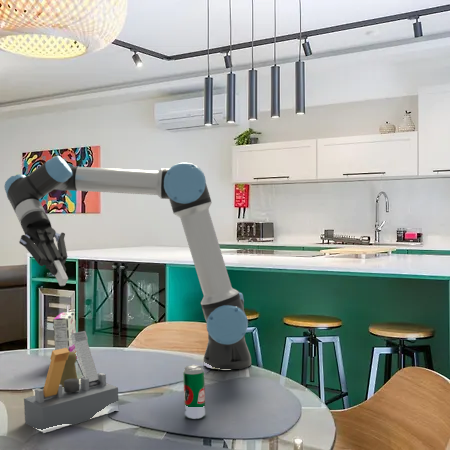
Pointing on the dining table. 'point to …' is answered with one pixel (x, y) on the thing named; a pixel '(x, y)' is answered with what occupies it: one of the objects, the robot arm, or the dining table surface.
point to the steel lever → (85, 357)
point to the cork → (69, 368)
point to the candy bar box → (64, 331)
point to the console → (69, 404)
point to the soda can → (194, 386)
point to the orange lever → (55, 372)
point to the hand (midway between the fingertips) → (64, 282)
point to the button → (71, 385)
